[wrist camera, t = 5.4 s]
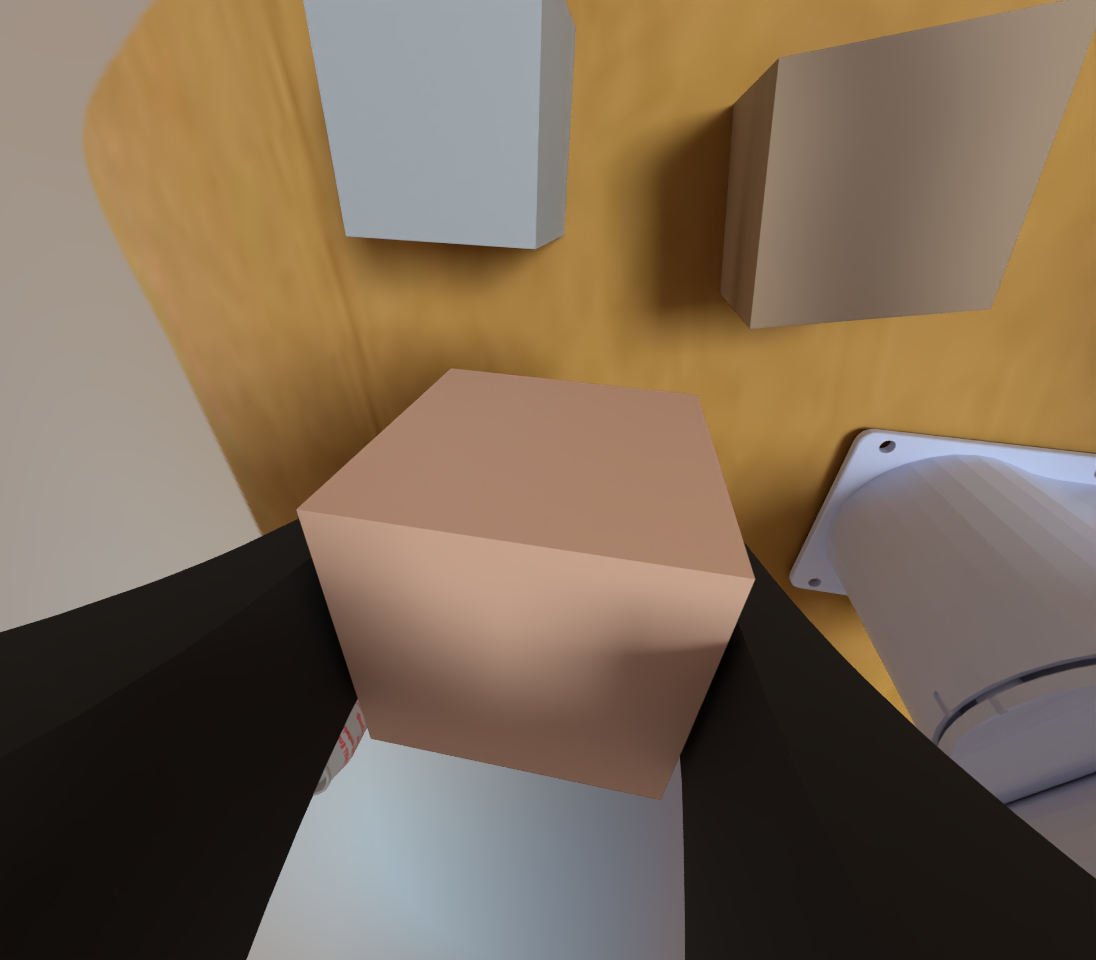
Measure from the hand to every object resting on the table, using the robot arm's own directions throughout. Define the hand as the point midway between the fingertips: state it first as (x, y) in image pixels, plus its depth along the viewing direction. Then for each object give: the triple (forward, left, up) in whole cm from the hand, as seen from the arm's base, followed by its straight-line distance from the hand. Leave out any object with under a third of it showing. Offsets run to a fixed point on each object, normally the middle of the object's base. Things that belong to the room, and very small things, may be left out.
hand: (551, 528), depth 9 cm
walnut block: (-6, -6, -10) cm, 13 cm away
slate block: (+4, -7, -10) cm, 13 cm away
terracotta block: (0, 0, -2) cm, 2 cm away
